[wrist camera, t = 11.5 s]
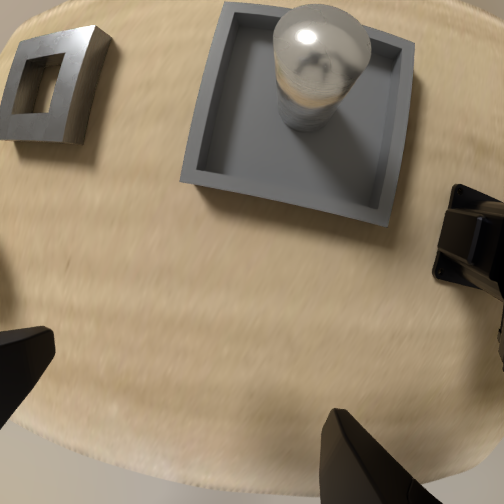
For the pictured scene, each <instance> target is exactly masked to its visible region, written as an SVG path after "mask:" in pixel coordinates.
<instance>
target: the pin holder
mask: <svg viewBox="0 0 504 504" xmlns="http://www.w3.org/2000/svg"><path fill="white" fill-rule="evenodd" d="M111 38H112V37H110V36H109V35H108V34H106V33H105V32H104V31H102V30H101V29H100V28H98V27H97V26H96V25H93V26H87V27H81V28H75V29H70V30H65V31H60V32H56V33H51V34H47V35H43V36H39V37H35V38H31V39H28V40H24V41H21V42H20V43H19V45H18V48H17V51H16V54H15V57H14V60H13V63H12V66H11V69H10V72H9V75H8V79H7V82H6V86H5V89H4V93H3V97H2V101H1V105H0V140H5V141H24V142H47V143H64V144H78V145H83V142H84V137H85V132H86V127H87V123H88V118H89V114H90V109H91V105H92V101H93V97H94V93H95V90H96V86H97V82H98V79H99V75H100V72H101V69H102V65H103V62H104V59H105V56H106V53H107V50H108V47H109V44H110V41H111ZM61 64H62V65H61ZM54 65H61V68H60V71H59V75H58V78H57V82H56V85H55V89H54V92H53V96H52V100H51V104H50V108H49V113H32V112H33V108H34V104H35V100H36V96H37V92H38V88H39V85H40V81H41V78H42V74H43V71H44V68H45V67H47V66H54Z"/></svg>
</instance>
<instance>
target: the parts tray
mask: <svg viewBox="0 0 504 504" xmlns="http://www.w3.org/2000/svg"><path fill="white" fill-rule="evenodd" d="M290 10H292V9H289V8H283V7H276V6H269V5H260V4H251V3H239V2H224V5H223V8H222V11H221V14H220V17H219V20H218V24H217V27H216V30H215V34H214V37H213V41H212V44H211V48H210V51H209V55H208V58H207V62H206V66H205V69H204V73H203V77H202V81H201V85H200V89H199V93H198V97H197V101H196V105H195V110H194V114H193V118H192V123H191V127H190V132H189V136H188V141H187V146H186V151H185V156H184V161H183V166H182V171H181V176H180V182H183V183H189V184H195V185H200V186H205V187H211V188H216V189H221V190H227V191H232V192H237V193H242V194H247V195H252V196H256V197H261V198H266V199H271V200H275V201H280V202H284V203H289V204H293V205H298V206H302V207H307V208H311V209H315V210H320V211H324V212H328V213H332V214H336V215H340V216H344V217H348V218H352V219H356V220H360V221H364V222H368V223H372V224H376V225H380V226H383V227H388V223H389V219H390V215H391V211H392V206H393V202H394V197H395V192H396V188H397V183H398V177H399V172H400V167H401V161H402V156H403V150H404V144H405V137H406V130H407V123H408V116H409V108H410V99H411V90H412V79H413V67H414V51H415V43H413V42H411V41H408V40H406V39H403V38H400V37H397V36H395V35H392V34H389V33H386V32H383V31H380V30H377V29H374V28H371V27H367V26H364V25H362V26H363V27H364V29H365V30H366V32H367V34H368V36H369V39H370V42H371V57H370V61H369V63H368V65H367V67H366V68H365V70H364V71H363V72H362V74H361V75H360V77H359V78H358V79H357V81H356V82H355V84H354V85H353V86H352V88H351V89H350V91H349V92H348V94H347V95H346V96H345V98H344V99H343V101H342V102H341V103H340V105H339V106H338V108H337V109H336V111H335V112H334V113H333V115H332V116H331V118H330V119H329V120H328V122H327V123H326V124H325V125H324V126H323V127H322V128H320V129H318V130H316V131H313V132H300V131H296V130H294V129H292V128H290V127H289V126H287V125H286V124H285V123H284V122H283V120H282V119H281V117H280V115H279V112H278V104H277V88H276V73H275V59H274V46H273V34H274V30H275V27H276V25H277V23H278V21H279V20H280V19H281V17H282V16H283V15H285V14H286V13H287V12H289V11H290Z"/></svg>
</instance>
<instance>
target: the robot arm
mask: <svg viewBox="0 0 504 504" xmlns="http://www.w3.org/2000/svg"><path fill="white" fill-rule="evenodd" d="M458 188H459V189H460V194H458V193H457V190H458ZM440 268H441V272H440V273H439V274H438V270H439V269H440ZM432 274H433V276H434V277H436V278H437V279H440V280H444V281H449V282H453V283H457V284H461V285H465V286H469V287H473V288H477V289H481V290H484V291H486V292H487V293H489V294H491V295H492V296H494V297H496V298H497V299H499V300H501V301H502V302H504V203H503V202H501V201H499V200H497V199H495V198H492V197H490V196H488V195H486V194H483V193H481V192H479V191H477V190H474V189H472V188H469V187H467V186H465V185H462V184H455V185H454V186H453V187H452V191H451V196H450V201H449V206H448V210H447V211H446V213H445V217H444V221H443V226H442V230H441V234H440V238H439V242H438V251H437V255H436V258H435V262H434V265H433V269H432ZM497 339H498V341H499V343H500V344H499V354H500V357H501V360H502V362H503V368H502V369H503V371H504V306H503V314H502V321H501V327H500V329H499V331H498V336H497ZM54 356H55V341H54V333H53V331H52V330H51V329H49V328H47V327H45V326H37V327H30V328H23V329H16V330H9V331H1V332H0V430H1V428H2V427H3V426H4V424H5V423H6V422H7V420H8V419H9V418H10V417H11V415H12V414H13V413H14V411H15V410H16V409H17V408H18V406H19V405H20V404H21V403H22V401H23V400H24V399H25V398H26V396H27V395H28V394H29V393H30V392H31V390H32V389H33V388H34V386H35V385H36V383H37V382H38V380H39V379H40V377H41V376H42V374H43V373H44V371H45V370H46V368H47V367H48V365H49V364H50V362H51V361H52V359H53V358H54ZM319 483H320V499H321V504H443V503H442V502H440V501H439V500H438V499H436V498H435V497H434V496H433V495H432V494H430V493H429V492H428V491H427V490H426V489H425V488H424V487H423V486H422V485H421V484H420V483H419V482H418V481H417V480H416V479H413V477H412V476H411V475H410V474H409V473H408V472H407V471H406V470H405V469H404V468H403V467H402V466H401V465H400V464H399V463H398V462H397V461H396V460H395V459H394V458H393V457H392V456H391V455H390V454H389V453H388V452H387V451H386V450H385V449H384V448H383V447H382V446H381V445H380V444H379V443H378V442H377V441H376V440H375V439H374V438H373V437H372V436H371V435H370V434H369V433H368V432H367V431H366V430H365V429H364V428H363V427H362V425H361V424H360V423H359V422H358V421H357V420H356V419H355V418H354V417H353V416H352V415H351V414H350V413H349V412H348V411H347V410H345V409H338V408H334V409H332V410H331V411H330V413H329V416H328V418H327V420H326V422H325V424H324V426H323V429H322V433H321V452H320V468H319Z"/></svg>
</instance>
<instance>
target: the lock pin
mask: <svg viewBox="0 0 504 504" xmlns="http://www.w3.org/2000/svg"><path fill="white" fill-rule="evenodd" d="M273 46H274V59H275V73H276V88H277V104H278V112H279V115H280V117H281V119H282V120H283V122H284V123H285V124H286V125H287V126H289V127H290V128H292V129H294V130H296V131H300V132H313V131H316V130H318V129H320V128H322V127H323V126H324V125H325V124H326V123H327V122H328V120H329V119H330V118H331V116H332V115H333V113H334V112H335V111H336V109H337V108H338V106H339V105H340V103H341V102H342V101H343V99H344V98H345V96H346V95H347V94H348V92H349V91H350V89H351V88H352V86H353V85H354V84H355V82H356V81H357V79H358V78H359V77H360V75H361V74H362V72H363V71H364V70H365V68H366V67H367V65H368V63H369V61H370V57H371V42H370V39H369V36H368V34H367V32H366V30H365V29H364V27H363V26H362V25H361V24H360V23H359V22H358V21H357V20H356V19H355V18H354V17H353V16H351V15H350V14H348V13H347V12H345V11H343V10H341V9H339V8H336V7H333V6H329V5H324V4H308V5H303V6H299V7H296V8H294V9H292V10H290V11H289V12H287V13H286V14H285V15H283V16H282V17H281V19H280V20H279V21H278V23H277V25H276V27H275V30H274V34H273Z"/></svg>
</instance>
